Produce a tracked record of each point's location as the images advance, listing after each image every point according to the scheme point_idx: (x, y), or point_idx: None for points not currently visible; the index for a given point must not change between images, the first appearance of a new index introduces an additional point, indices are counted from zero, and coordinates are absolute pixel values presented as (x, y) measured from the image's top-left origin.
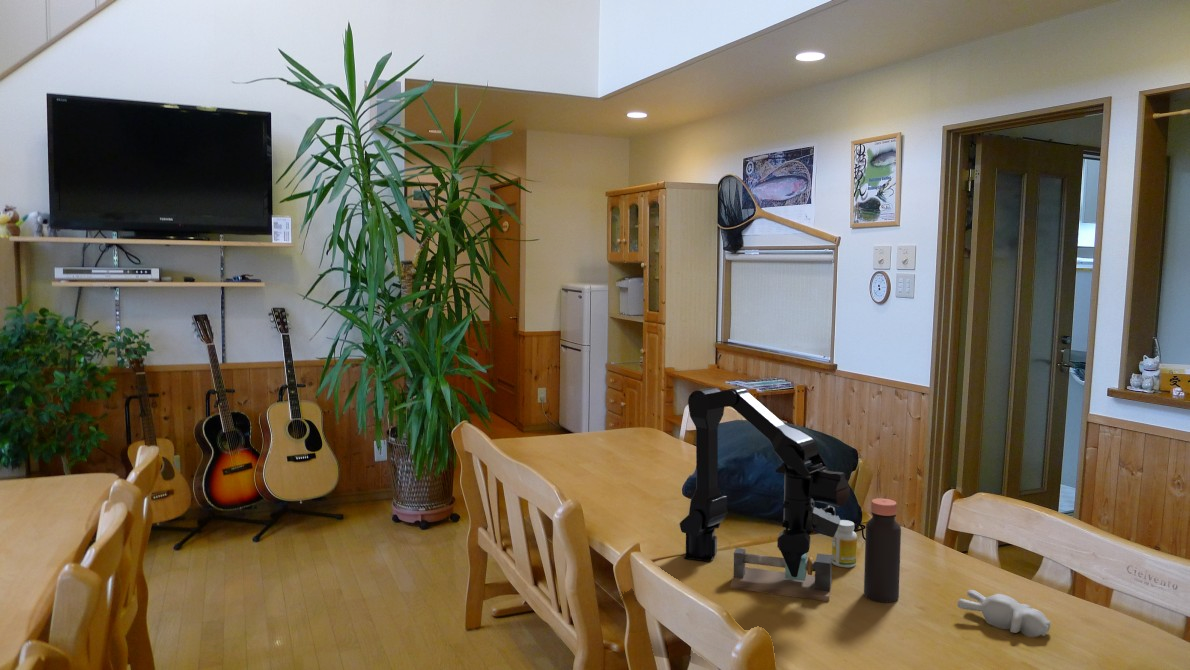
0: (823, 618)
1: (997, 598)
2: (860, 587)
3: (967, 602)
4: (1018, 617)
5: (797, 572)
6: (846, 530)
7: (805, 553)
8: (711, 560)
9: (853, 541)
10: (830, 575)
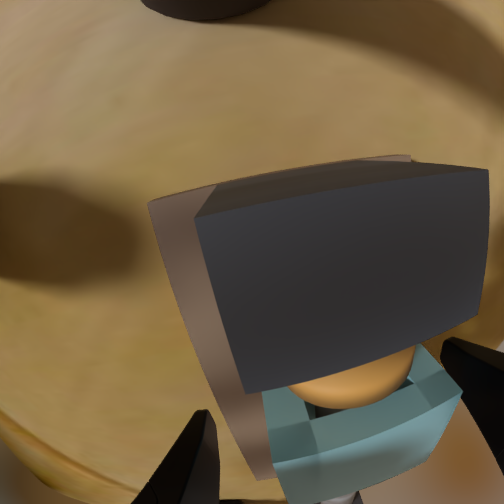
0: (498, 159)
1: None
2: (143, 56)
3: None
4: None
5: (476, 345)
6: None
7: (360, 444)
8: (235, 501)
9: None
10: (361, 166)
